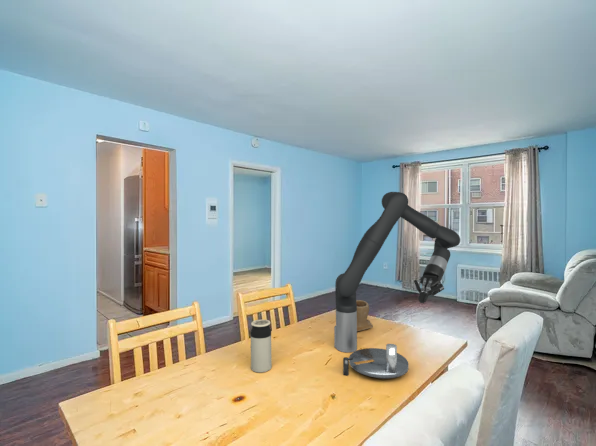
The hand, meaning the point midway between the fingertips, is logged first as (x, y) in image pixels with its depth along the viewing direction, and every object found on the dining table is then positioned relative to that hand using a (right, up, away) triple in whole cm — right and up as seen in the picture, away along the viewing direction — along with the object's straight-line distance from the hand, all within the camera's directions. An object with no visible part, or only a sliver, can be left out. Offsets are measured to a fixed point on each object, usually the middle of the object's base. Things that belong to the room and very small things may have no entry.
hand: (421, 302), depth 130 cm
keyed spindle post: (-22, -24, -9) cm, 34 cm away
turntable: (-19, -22, -7) cm, 30 cm away
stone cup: (-18, -24, +37) cm, 47 cm away
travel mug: (-65, -25, -5) cm, 69 cm away
